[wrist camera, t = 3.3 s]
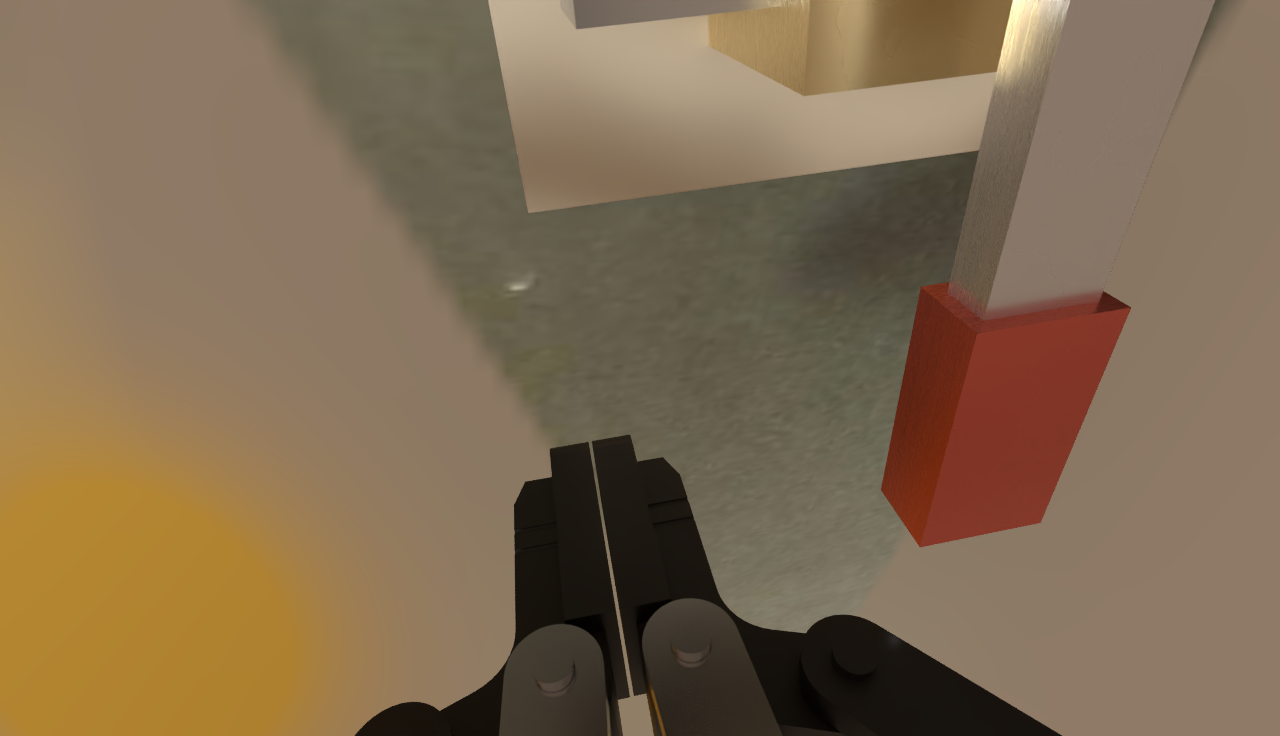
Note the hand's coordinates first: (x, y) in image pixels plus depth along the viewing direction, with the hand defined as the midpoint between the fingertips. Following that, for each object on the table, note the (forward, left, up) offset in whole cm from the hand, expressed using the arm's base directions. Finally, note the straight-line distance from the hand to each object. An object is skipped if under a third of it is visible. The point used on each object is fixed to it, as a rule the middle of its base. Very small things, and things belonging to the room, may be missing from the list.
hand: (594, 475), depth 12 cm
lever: (-4, +7, 0) cm, 8 cm away
